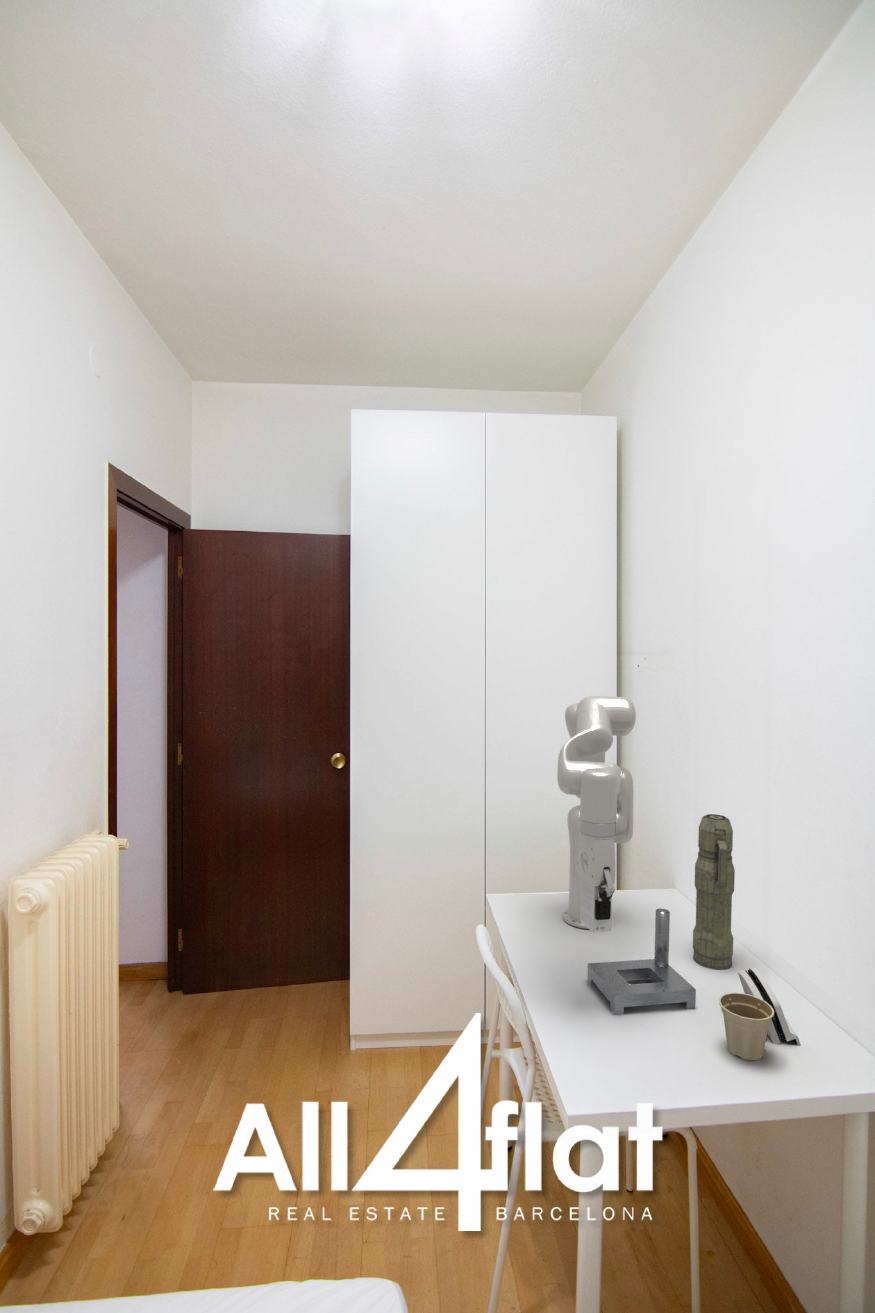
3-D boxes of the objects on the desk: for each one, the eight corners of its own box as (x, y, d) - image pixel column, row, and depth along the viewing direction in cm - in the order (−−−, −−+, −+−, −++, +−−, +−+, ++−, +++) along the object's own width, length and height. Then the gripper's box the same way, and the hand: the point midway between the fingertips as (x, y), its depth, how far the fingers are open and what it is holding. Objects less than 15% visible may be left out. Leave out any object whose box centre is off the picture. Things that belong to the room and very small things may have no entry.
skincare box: (611, 931, 139) (613, 874, 139) (593, 933, 138) (594, 876, 137) (597, 919, 145) (598, 864, 144) (579, 921, 144) (580, 866, 143)
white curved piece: (802, 1046, 127) (784, 995, 127) (776, 1052, 127) (759, 1001, 128) (770, 1000, 143) (755, 955, 144) (748, 1006, 144) (733, 961, 144)
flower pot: (747, 1072, 119) (748, 1023, 119) (706, 1042, 127) (707, 997, 127) (784, 1060, 123) (785, 1013, 122) (742, 1032, 131) (743, 988, 131)
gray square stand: (587, 981, 150) (589, 910, 150) (661, 975, 153) (663, 906, 153) (614, 1015, 136) (616, 937, 136) (695, 1008, 140) (697, 932, 139)
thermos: (705, 973, 155) (709, 823, 154) (684, 950, 167) (687, 810, 166) (742, 973, 155) (746, 823, 155) (718, 950, 167) (722, 810, 167)
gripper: (566, 817, 149) (564, 897, 149) (597, 840, 132) (594, 930, 132) (598, 816, 150) (596, 896, 150) (632, 839, 133) (630, 929, 133)
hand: (595, 911), depth 141 cm, fingers closed on skincare box, 6 cm apart
